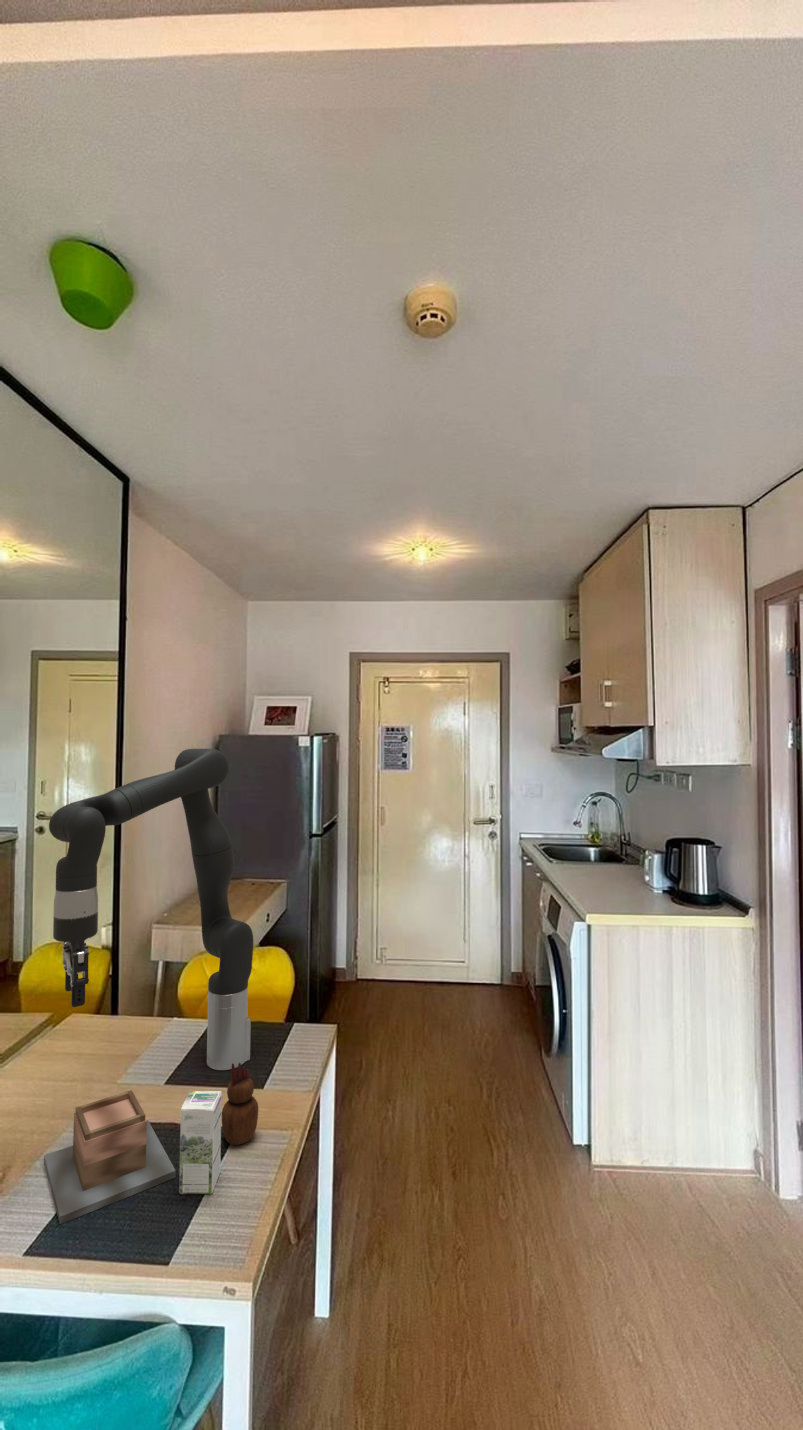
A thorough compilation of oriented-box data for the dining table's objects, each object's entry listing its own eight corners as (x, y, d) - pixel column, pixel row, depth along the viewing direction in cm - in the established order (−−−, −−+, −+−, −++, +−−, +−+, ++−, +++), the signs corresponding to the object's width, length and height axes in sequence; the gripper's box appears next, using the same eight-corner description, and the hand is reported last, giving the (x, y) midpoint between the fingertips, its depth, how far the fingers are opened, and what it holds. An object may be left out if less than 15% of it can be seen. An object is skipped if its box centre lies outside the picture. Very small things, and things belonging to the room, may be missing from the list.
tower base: (147, 1126, 124) (148, 1073, 124) (175, 1177, 110) (176, 1118, 110) (44, 1162, 113) (45, 1104, 114) (59, 1224, 99) (61, 1158, 99)
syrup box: (221, 1172, 111) (222, 1088, 112) (212, 1196, 105) (213, 1108, 106) (189, 1172, 111) (190, 1088, 112) (177, 1196, 105) (179, 1108, 106)
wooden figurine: (224, 1153, 116) (226, 1071, 117) (218, 1136, 121) (220, 1057, 122) (261, 1143, 119) (262, 1063, 120) (253, 1126, 124) (254, 1049, 125)
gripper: (104, 917, 115) (103, 1006, 115) (91, 900, 127) (90, 981, 126) (58, 924, 111) (56, 1017, 110) (49, 906, 123) (47, 989, 122)
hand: (74, 997), depth 118 cm, fingers open, 8 cm apart
